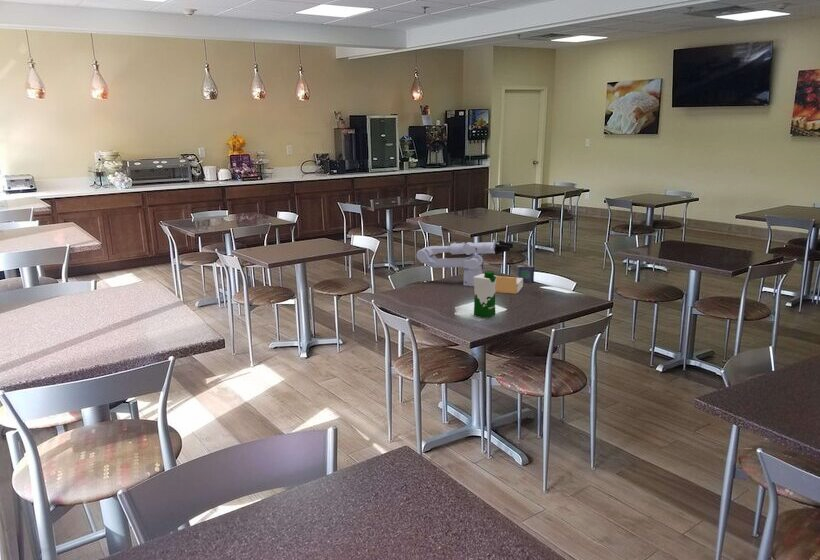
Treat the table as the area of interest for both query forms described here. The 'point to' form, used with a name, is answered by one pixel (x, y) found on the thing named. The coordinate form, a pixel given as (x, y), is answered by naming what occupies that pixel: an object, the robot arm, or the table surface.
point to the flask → (526, 273)
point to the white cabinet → (518, 284)
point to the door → (506, 285)
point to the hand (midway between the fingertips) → (511, 247)
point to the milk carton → (484, 294)
